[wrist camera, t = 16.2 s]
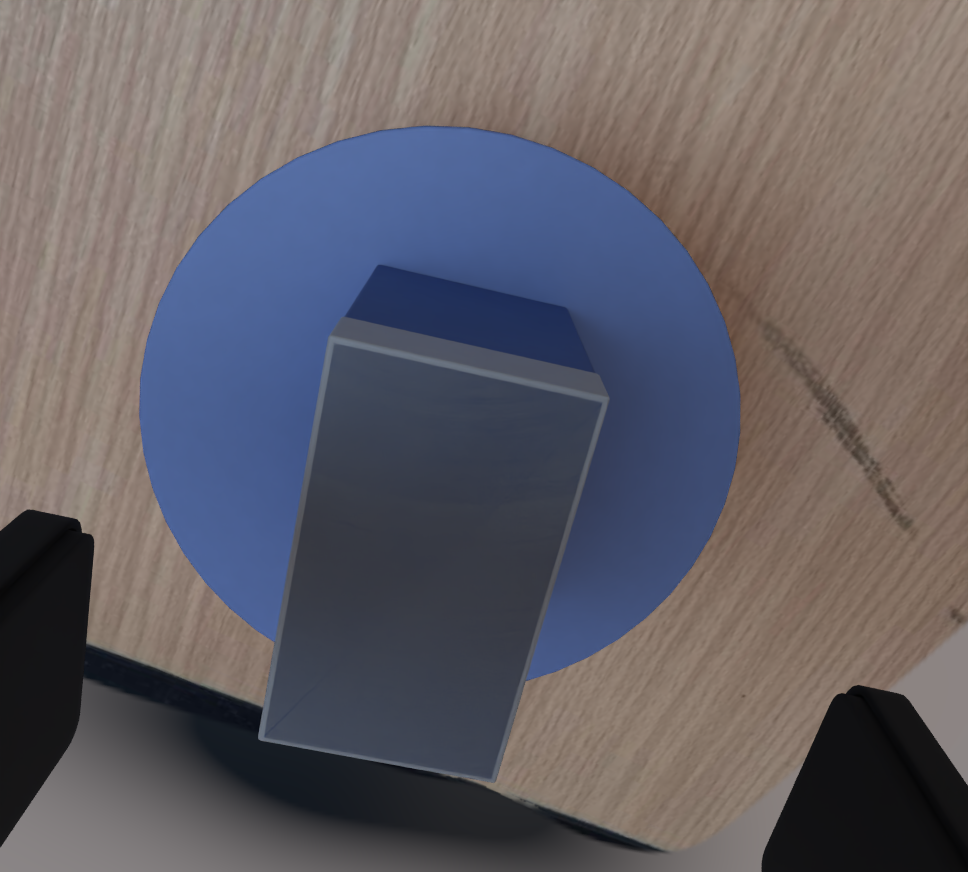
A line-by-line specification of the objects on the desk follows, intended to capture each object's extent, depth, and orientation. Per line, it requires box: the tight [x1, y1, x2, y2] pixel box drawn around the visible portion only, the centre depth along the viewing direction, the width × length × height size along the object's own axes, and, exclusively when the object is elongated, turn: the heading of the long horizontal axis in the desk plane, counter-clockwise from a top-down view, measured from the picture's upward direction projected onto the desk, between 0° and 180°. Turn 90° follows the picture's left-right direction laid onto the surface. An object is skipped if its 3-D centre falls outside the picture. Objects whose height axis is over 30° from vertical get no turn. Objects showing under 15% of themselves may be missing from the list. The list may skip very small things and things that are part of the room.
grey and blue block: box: [258, 265, 610, 783], centre depth 16 cm, size 4×7×6 cm, turn 167°
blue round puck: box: [139, 126, 740, 681], centre depth 22 cm, size 13×13×7 cm
